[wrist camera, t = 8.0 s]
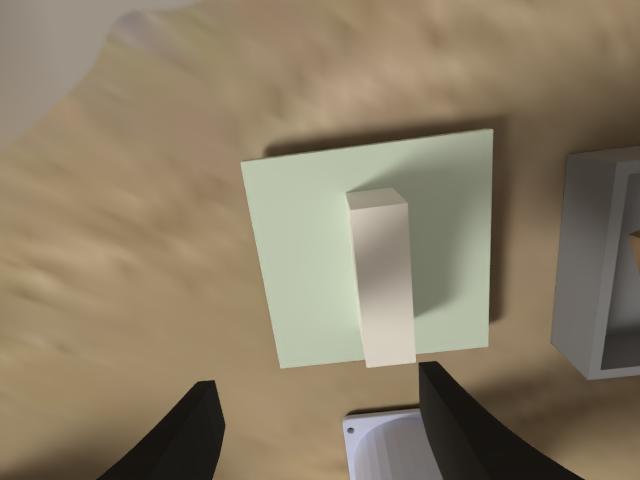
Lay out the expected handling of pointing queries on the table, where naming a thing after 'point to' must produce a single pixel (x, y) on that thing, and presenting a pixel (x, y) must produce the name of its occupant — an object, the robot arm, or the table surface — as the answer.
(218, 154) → the table surface
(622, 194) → the storage box
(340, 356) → the lid
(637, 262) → the walnut block
